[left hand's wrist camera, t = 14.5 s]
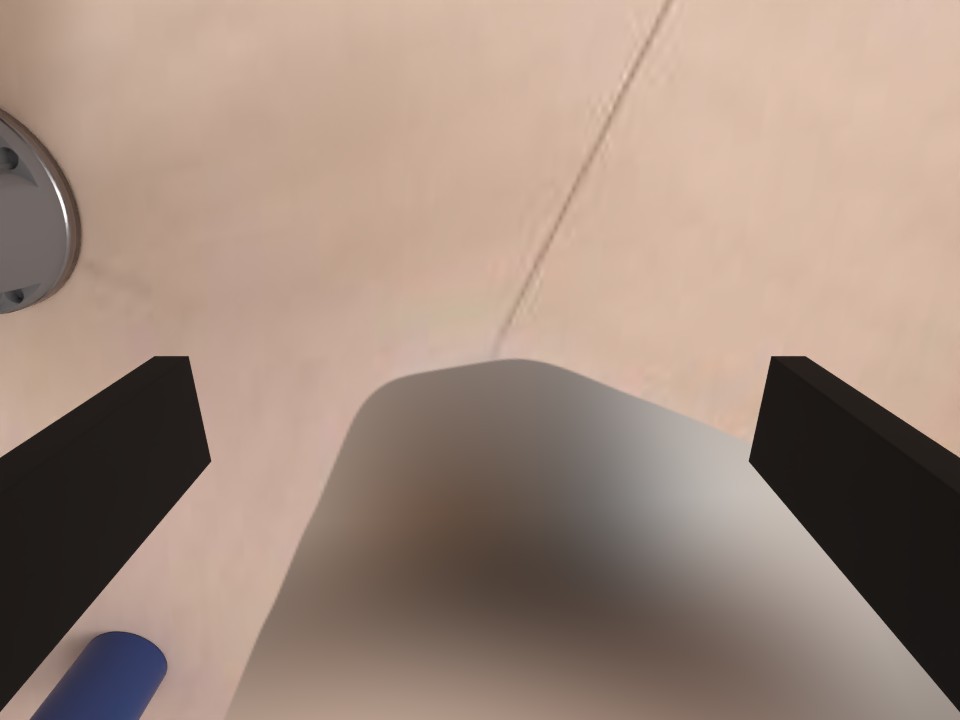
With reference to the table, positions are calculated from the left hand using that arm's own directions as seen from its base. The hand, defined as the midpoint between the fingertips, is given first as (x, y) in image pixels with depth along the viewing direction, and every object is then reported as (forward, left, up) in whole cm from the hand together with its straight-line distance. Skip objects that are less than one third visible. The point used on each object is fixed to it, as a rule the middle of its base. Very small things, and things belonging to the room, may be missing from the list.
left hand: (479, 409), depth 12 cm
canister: (-23, -52, -29) cm, 64 cm away
